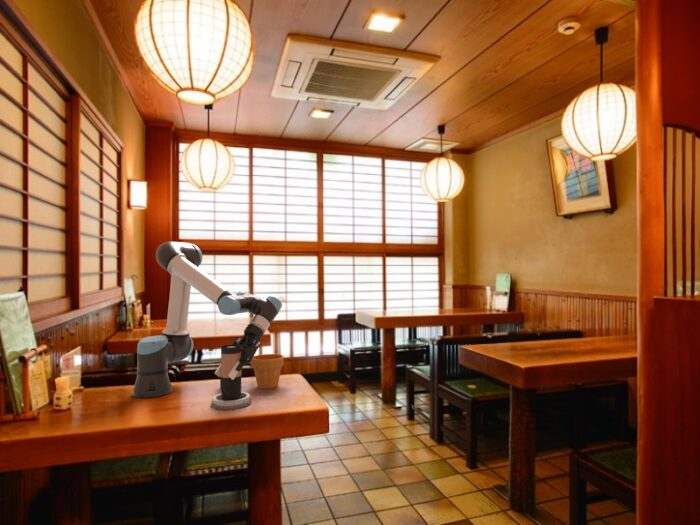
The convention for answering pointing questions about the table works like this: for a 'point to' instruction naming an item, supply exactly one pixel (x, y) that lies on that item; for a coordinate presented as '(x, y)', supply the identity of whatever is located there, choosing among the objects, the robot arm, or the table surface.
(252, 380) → the table surface
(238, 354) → the travel mug
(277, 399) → the table surface
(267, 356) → the flower pot
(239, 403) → the gray ring
